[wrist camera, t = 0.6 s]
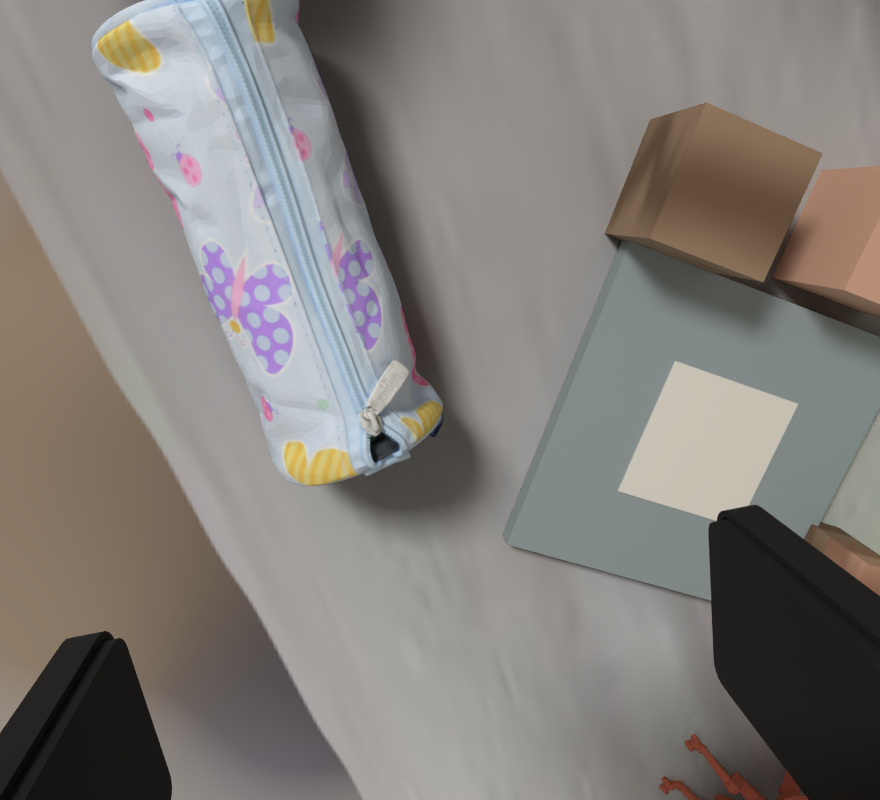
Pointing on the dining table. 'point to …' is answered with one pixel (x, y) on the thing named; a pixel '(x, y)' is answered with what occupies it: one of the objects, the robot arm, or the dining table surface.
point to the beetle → (732, 780)
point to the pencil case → (274, 228)
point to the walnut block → (713, 191)
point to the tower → (847, 553)
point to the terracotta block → (838, 240)
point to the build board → (692, 422)
